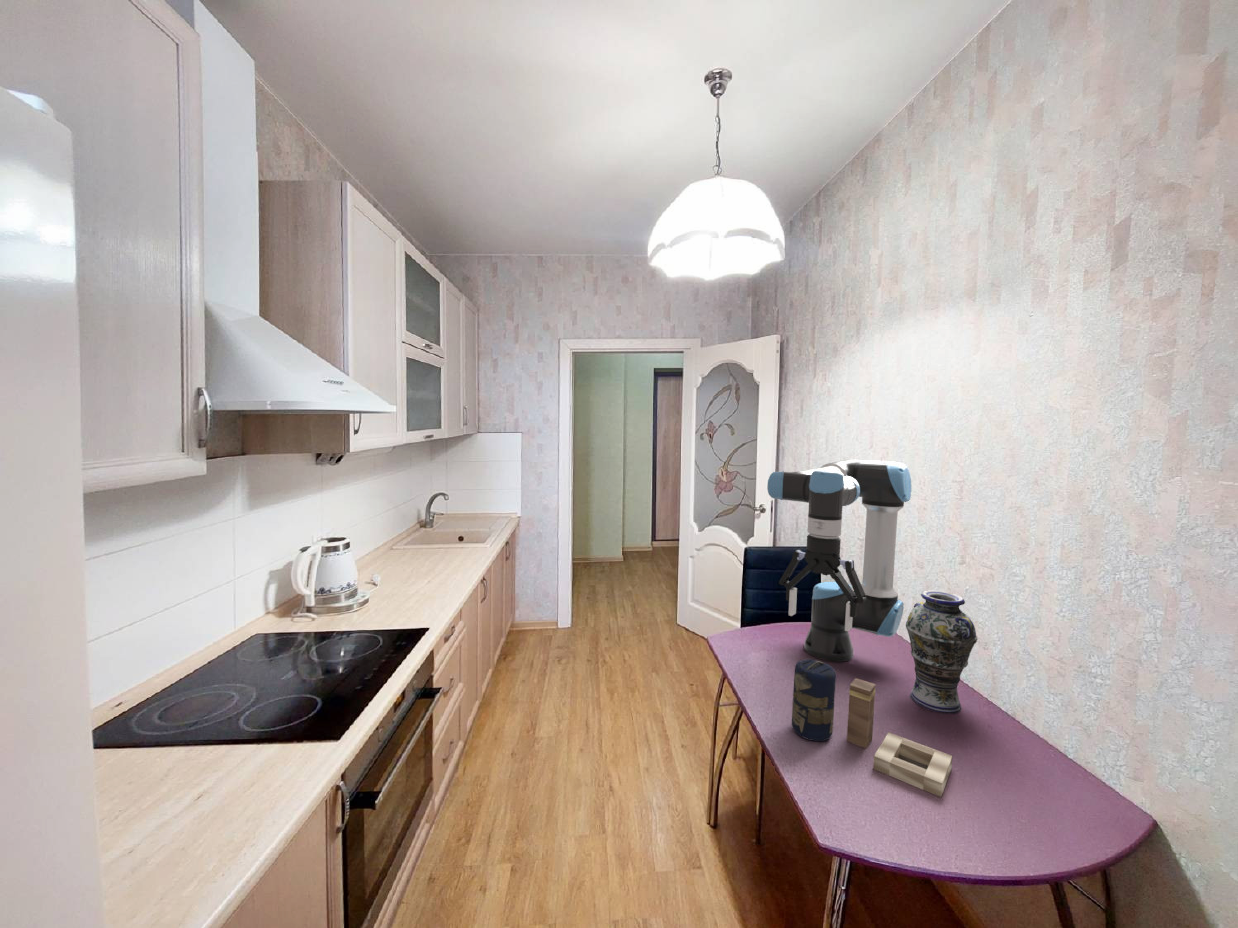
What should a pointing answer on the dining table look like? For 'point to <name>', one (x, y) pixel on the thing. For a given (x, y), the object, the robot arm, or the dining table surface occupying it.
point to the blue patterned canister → (813, 699)
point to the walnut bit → (861, 712)
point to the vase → (939, 649)
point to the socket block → (913, 763)
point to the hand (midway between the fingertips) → (819, 621)
